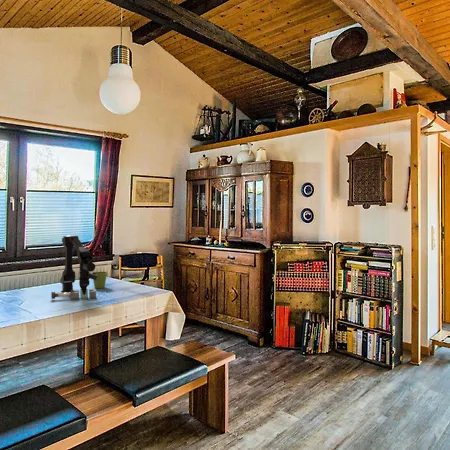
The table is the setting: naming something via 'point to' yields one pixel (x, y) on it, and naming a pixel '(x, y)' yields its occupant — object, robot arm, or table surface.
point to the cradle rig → (76, 294)
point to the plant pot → (100, 279)
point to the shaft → (60, 295)
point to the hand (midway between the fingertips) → (84, 293)
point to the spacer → (84, 295)
